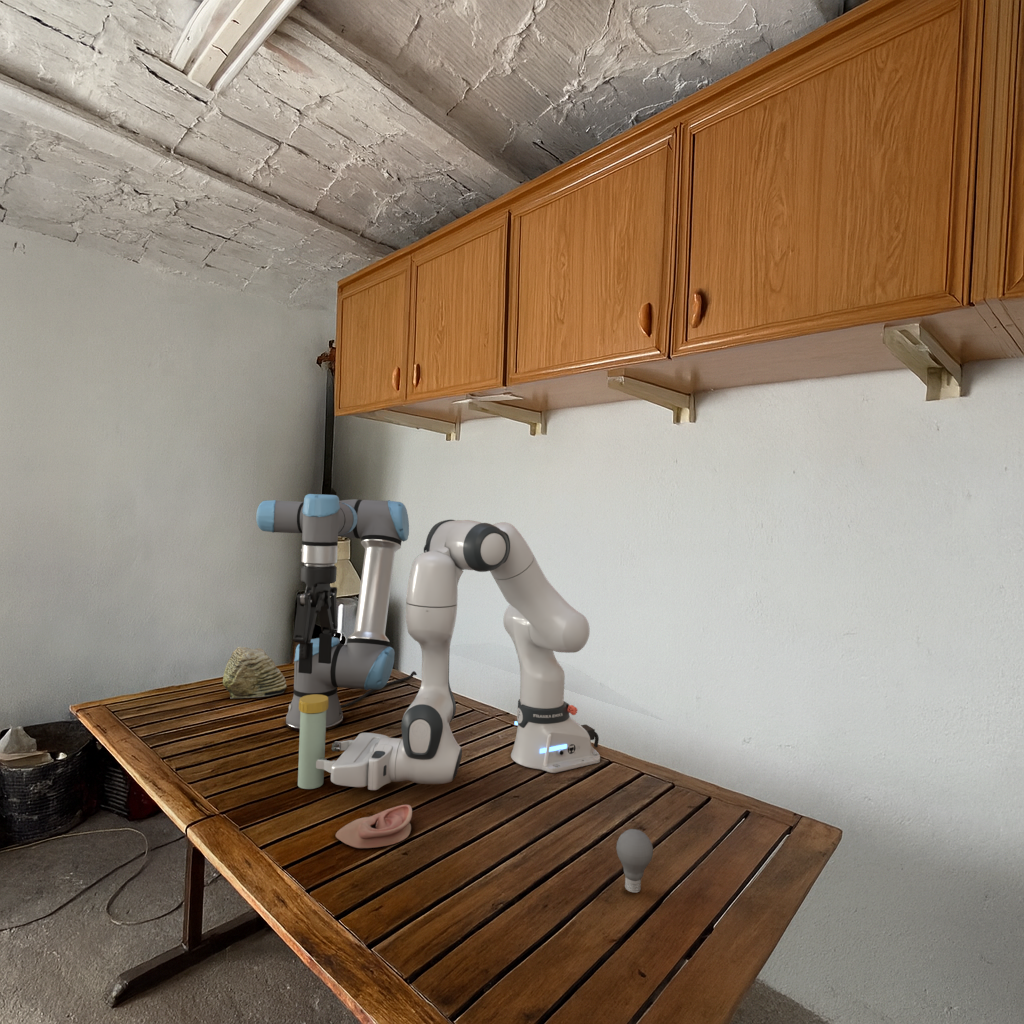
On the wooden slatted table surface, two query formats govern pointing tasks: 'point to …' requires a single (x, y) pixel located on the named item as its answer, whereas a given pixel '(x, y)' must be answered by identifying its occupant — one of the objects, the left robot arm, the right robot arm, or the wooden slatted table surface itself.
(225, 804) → the wooden slatted table surface
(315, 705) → the lid
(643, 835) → the light bulb
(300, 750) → the pale green bottle
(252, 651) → the fossil
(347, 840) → the anatomical model
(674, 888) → the wooden slatted table surface
